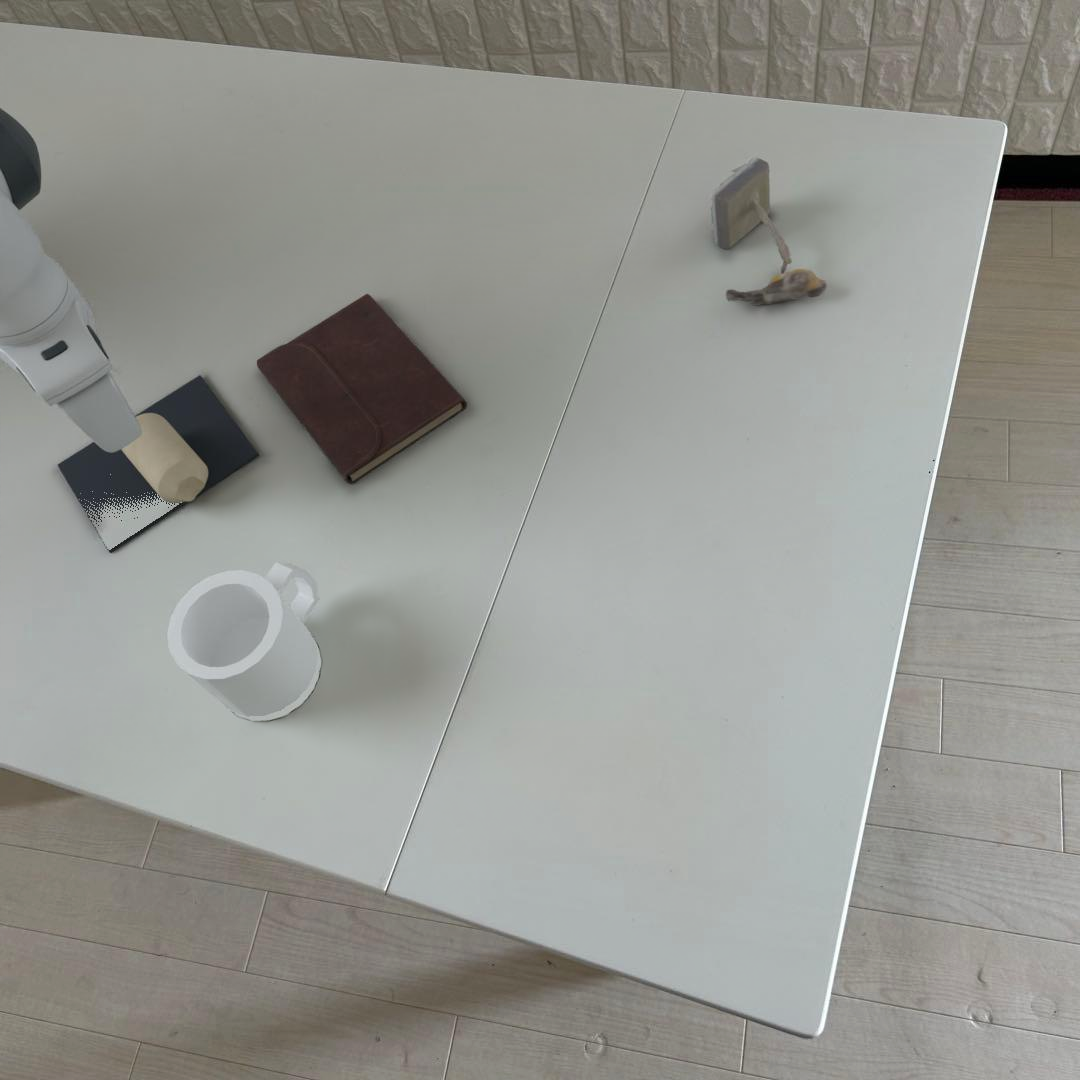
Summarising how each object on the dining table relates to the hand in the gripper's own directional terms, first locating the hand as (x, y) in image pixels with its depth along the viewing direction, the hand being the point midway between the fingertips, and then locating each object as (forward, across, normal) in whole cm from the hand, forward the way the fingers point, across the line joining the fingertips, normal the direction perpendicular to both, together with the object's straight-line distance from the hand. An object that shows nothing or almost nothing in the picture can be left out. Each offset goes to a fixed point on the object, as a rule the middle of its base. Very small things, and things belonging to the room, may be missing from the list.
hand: (111, 411), depth 104 cm
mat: (+10, 0, 0) cm, 10 cm away
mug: (+9, +29, 0) cm, 31 cm away
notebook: (+9, +7, +23) cm, 25 cm away
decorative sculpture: (+9, +23, +65) cm, 69 cm away
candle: (+6, -1, +1) cm, 6 cm away
